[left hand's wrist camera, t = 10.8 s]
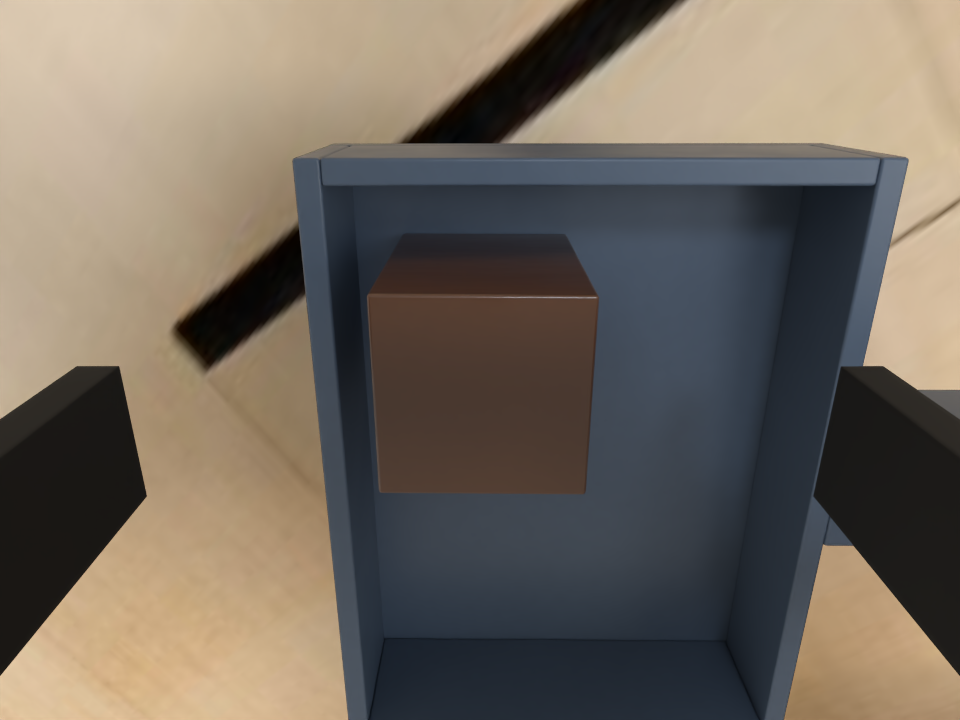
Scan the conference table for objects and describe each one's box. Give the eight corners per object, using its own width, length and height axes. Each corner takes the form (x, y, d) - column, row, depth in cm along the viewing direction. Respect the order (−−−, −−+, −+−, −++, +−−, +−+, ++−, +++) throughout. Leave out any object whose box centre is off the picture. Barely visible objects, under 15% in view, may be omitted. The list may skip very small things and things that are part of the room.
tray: (370, 638, 25) (349, 737, 21) (331, 143, 18) (291, 158, 15) (1069, 643, 24) (1176, 745, 21) (1275, 142, 18) (1486, 157, 14)
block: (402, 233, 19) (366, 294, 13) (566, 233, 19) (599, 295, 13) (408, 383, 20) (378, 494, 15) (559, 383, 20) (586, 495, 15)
